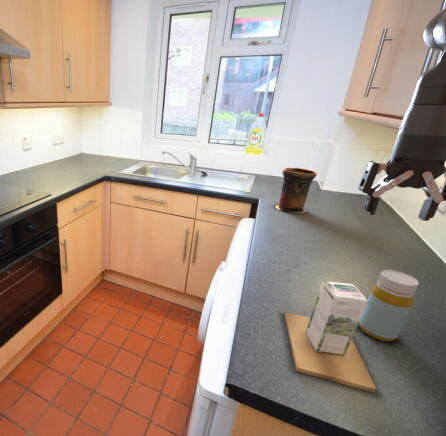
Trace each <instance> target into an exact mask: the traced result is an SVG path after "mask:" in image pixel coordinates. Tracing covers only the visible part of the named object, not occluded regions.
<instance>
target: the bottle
mask: <svg viewBox="0 0 446 436" xmlns="http://www.w3.org/2000/svg"><path fill="white" fill-rule="evenodd" d="M419 284H420V283H419V281H418V280H417V278H415V277H413V276H411V275H410V274H407V273H404V272H401V271H398V270H392V269H385V270H382V271H381V272H380V274H379V277H378V280H377V282H376V284H375V285H374V286H373V287H372V289H371V290H370V293H369V295H368V298H367V301H368V302H367V304H366V307H365V309H364V311H363V314H362V316H361V318H360V321H359V323H358V326H359V327H360V329H361V331H363V332H364V333H365V334H366V335H367V336H369V337H371V338H373V339H376V340H378V341H381V342H392V341H395V340H397V338H398V336H399V335H400V332H401V330H402V328H403V326H404V324H405V321H406V320H407V317H408V315H409V314H410V311H411V308H412V307H413V304H414V295H415V293H416V291H417V289H418V287H419Z"/></svg>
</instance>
